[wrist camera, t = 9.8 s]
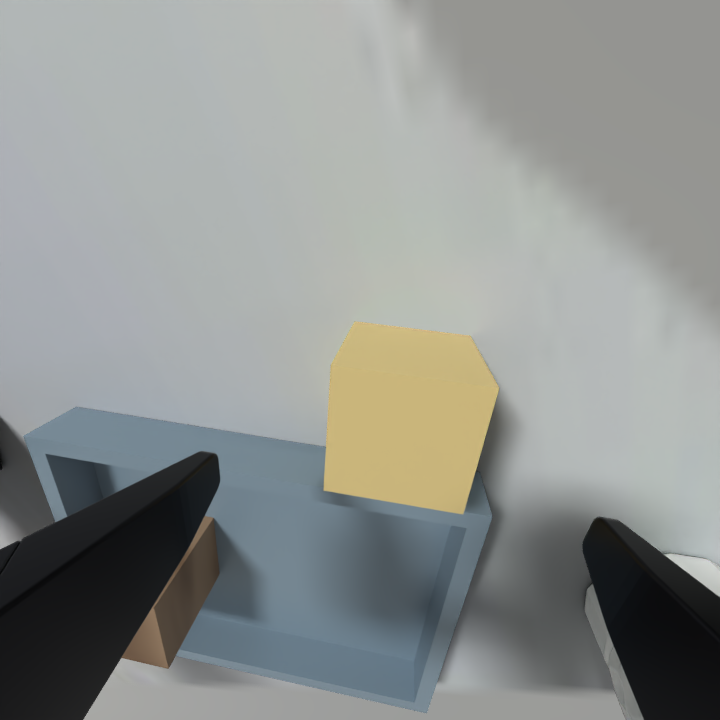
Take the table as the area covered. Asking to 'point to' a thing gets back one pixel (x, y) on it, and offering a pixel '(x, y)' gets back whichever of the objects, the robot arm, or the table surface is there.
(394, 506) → the slate tray
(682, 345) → the table surface
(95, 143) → the table surface
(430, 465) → the ochre block
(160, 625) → the walnut block
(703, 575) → the white cup
